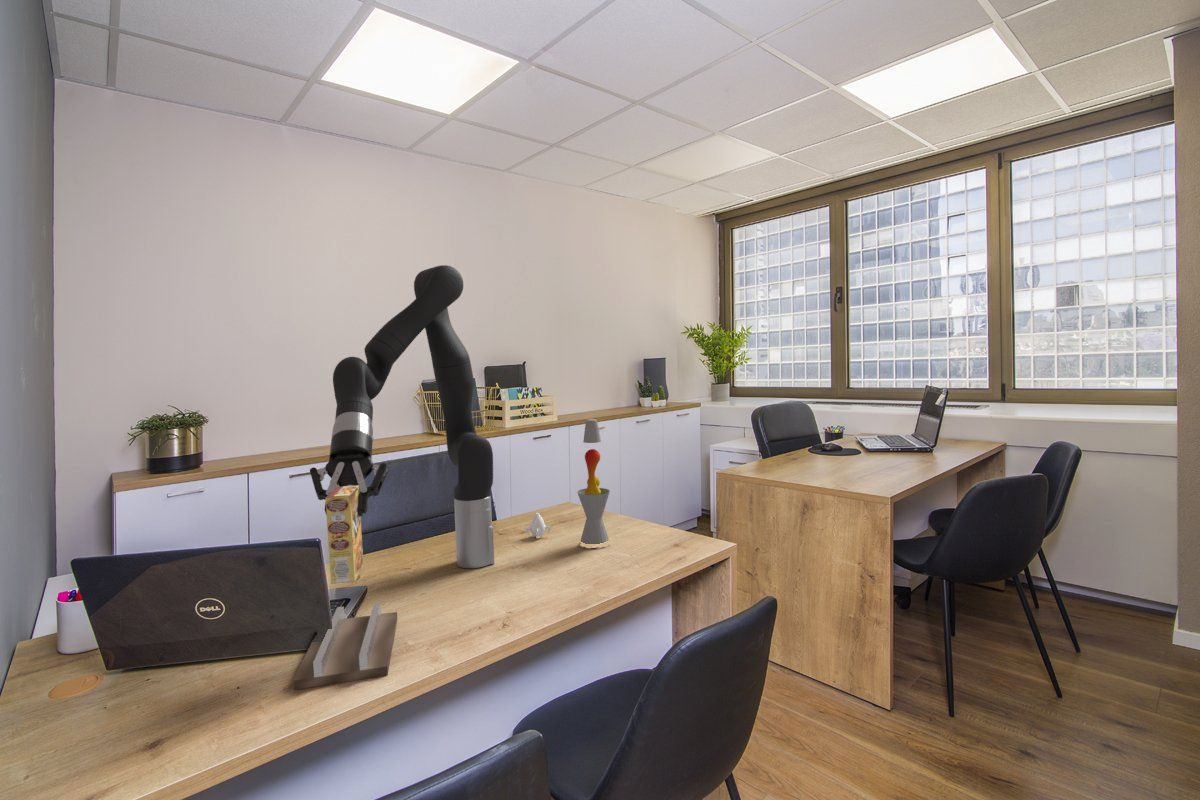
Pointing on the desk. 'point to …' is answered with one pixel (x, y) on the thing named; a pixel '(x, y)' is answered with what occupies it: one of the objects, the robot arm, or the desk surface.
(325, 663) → the track base
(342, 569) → the candy box
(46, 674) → the desk surface
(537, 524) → the rocket toy
